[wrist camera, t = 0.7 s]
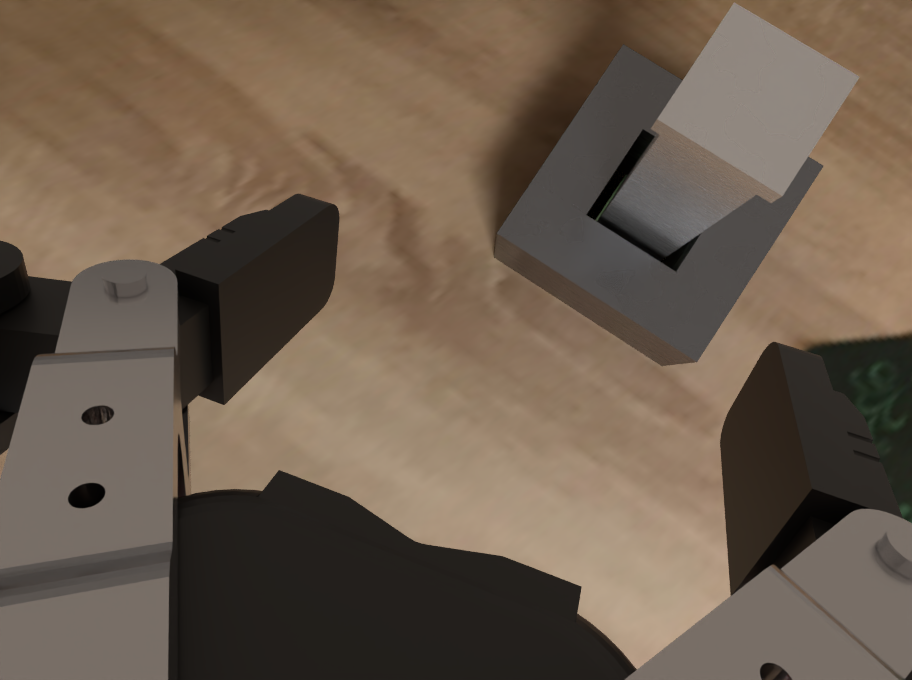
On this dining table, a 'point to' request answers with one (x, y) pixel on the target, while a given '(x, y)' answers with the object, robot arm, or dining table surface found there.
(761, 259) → the block
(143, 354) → the robot arm
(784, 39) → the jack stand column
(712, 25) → the dining table surface
